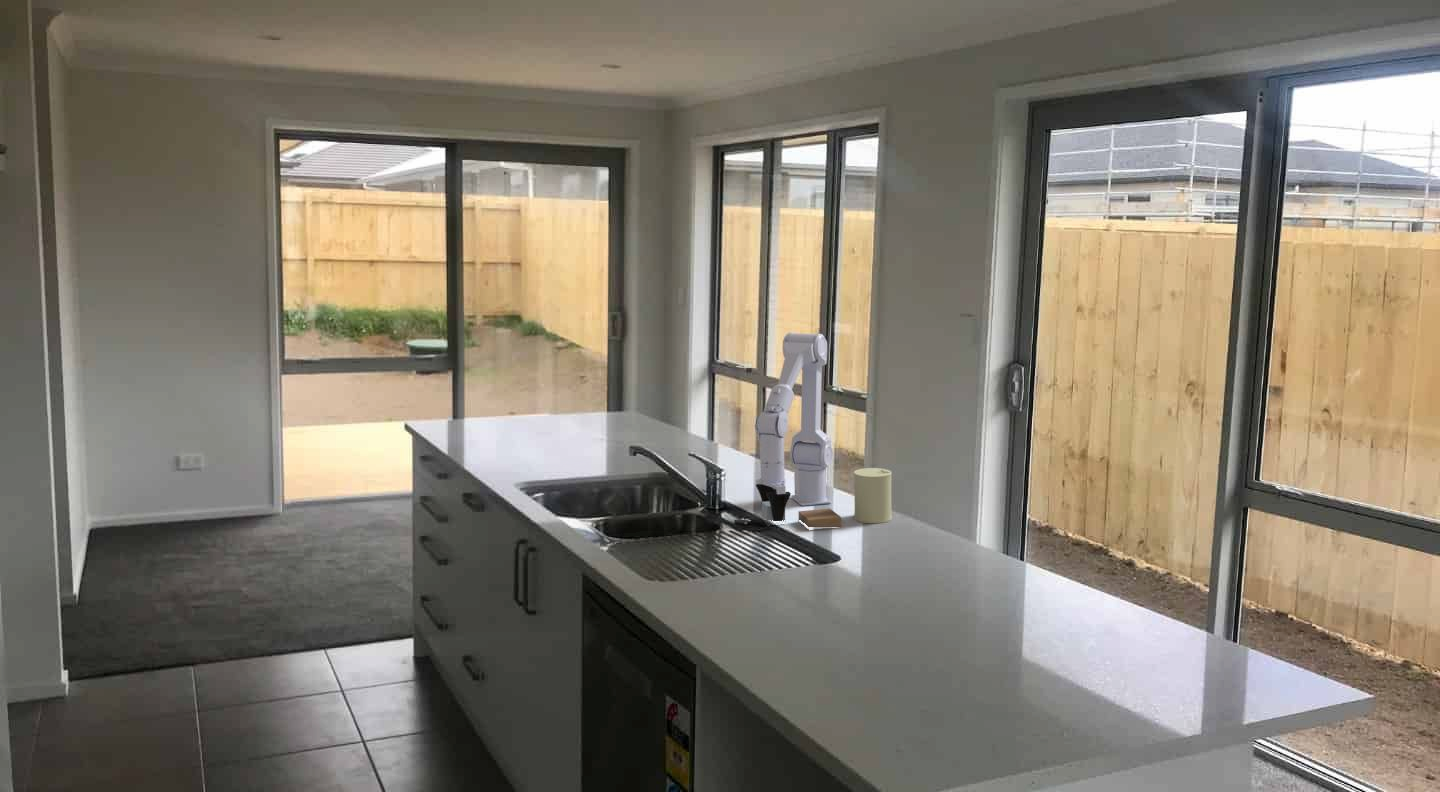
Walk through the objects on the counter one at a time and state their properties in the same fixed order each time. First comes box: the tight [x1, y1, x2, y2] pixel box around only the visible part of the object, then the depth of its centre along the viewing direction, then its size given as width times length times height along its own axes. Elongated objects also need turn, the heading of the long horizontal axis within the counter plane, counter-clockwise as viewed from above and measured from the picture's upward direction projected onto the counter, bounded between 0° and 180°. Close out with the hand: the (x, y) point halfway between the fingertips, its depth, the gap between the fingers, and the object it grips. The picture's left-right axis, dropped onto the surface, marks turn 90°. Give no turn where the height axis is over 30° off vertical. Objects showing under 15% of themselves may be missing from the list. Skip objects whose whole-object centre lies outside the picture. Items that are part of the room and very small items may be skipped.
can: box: [853, 467, 893, 524], centre depth 276 cm, size 9×9×12 cm
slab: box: [797, 507, 842, 528], centre depth 273 cm, size 8×8×3 cm
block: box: [761, 501, 786, 521], centre depth 275 cm, size 4×4×5 cm
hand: (773, 516), depth 275 cm, fingers open, 7 cm apart
